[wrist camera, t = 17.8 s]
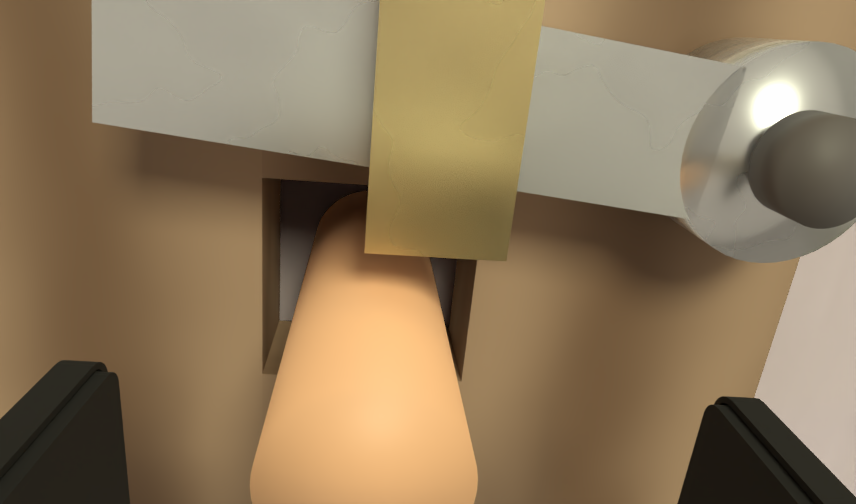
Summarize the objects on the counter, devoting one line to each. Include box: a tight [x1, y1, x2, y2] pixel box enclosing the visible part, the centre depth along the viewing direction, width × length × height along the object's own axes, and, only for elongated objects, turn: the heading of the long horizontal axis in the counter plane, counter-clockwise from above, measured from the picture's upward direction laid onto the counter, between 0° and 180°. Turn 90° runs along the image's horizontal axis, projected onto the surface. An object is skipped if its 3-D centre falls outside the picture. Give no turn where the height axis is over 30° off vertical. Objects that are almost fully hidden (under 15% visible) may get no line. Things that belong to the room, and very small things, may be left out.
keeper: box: [364, 0, 545, 261], centre depth 11 cm, size 2×7×4 cm, turn 175°
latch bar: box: [92, 0, 856, 263], centre depth 12 cm, size 15×4×2 cm, turn 79°
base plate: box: [0, 0, 856, 504], centre depth 14 cm, size 21×17×7 cm
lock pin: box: [250, 191, 478, 504], centre depth 13 cm, size 3×3×10 cm
